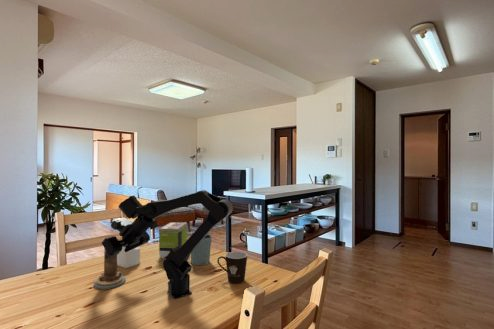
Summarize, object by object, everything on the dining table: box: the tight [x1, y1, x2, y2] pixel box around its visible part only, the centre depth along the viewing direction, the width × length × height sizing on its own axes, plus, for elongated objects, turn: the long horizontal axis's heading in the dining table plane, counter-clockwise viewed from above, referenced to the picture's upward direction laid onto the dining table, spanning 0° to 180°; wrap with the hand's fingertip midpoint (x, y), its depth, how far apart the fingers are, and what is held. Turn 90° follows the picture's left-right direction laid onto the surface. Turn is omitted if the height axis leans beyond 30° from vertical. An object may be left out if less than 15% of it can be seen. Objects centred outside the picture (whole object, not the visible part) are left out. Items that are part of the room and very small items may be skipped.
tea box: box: [158, 222, 189, 259], centre depth 142 cm, size 15×10×15 cm
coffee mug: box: [216, 251, 248, 285], centre depth 110 cm, size 12×9×10 cm
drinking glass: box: [190, 233, 213, 266], centre depth 130 cm, size 10×10×12 cm
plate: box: [93, 275, 127, 290], centre depth 106 cm, size 11×11×1 cm
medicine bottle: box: [117, 245, 141, 269], centre depth 126 cm, size 7×7×12 cm
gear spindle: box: [98, 248, 122, 282], centre depth 106 cm, size 8×7×12 cm
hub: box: [96, 274, 124, 286], centre depth 106 cm, size 9×9×1 cm
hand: (115, 254), depth 105 cm, fingers open, 9 cm apart
